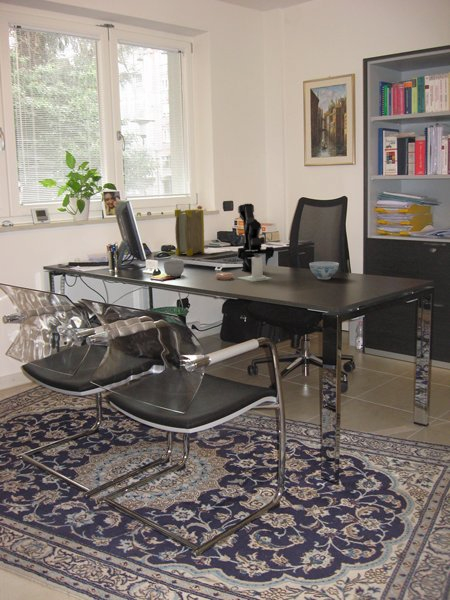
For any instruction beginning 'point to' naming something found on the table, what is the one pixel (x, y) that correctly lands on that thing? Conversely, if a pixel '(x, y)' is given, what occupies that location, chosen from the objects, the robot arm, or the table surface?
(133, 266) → the table surface
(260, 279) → the mat
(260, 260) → the cover
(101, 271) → the table surface
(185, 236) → the decorative book
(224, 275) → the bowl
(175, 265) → the teacup
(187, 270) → the table surface
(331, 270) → the chinaware
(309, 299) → the table surface
